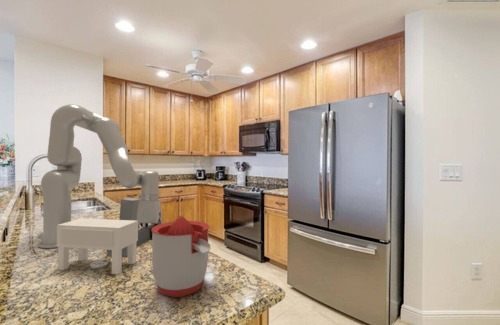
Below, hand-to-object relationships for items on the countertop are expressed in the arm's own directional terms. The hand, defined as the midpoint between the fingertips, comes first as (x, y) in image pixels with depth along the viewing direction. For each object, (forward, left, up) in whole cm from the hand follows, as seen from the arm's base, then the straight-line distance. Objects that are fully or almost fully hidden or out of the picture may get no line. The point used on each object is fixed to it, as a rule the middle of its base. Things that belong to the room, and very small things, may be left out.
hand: (149, 237), depth 117 cm
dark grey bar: (0, -10, 0) cm, 10 cm away
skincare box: (-19, +14, -1) cm, 24 cm away
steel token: (0, -32, -1) cm, 32 cm away
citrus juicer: (+34, -42, -1) cm, 54 cm away
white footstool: (0, -32, 0) cm, 32 cm away
